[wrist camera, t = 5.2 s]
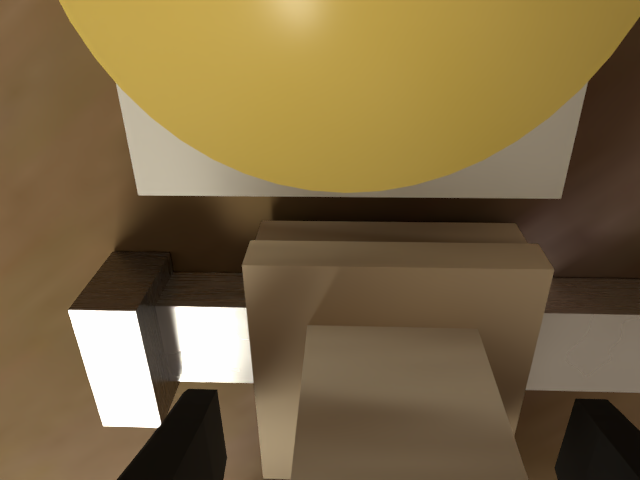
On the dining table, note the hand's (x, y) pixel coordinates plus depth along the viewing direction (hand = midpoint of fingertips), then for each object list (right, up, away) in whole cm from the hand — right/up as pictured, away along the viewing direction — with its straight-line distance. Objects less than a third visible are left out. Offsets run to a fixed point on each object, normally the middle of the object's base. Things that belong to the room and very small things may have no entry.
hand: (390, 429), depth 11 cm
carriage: (0, +2, +3) cm, 4 cm away
